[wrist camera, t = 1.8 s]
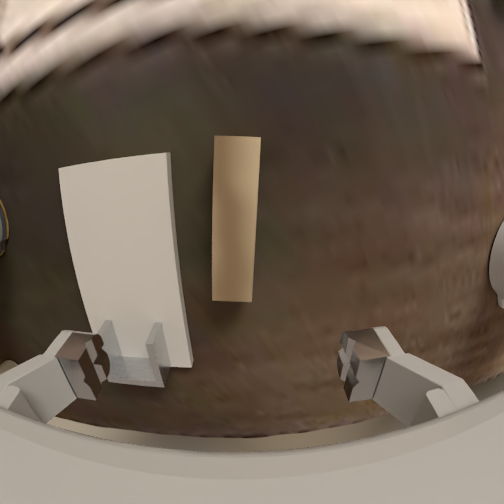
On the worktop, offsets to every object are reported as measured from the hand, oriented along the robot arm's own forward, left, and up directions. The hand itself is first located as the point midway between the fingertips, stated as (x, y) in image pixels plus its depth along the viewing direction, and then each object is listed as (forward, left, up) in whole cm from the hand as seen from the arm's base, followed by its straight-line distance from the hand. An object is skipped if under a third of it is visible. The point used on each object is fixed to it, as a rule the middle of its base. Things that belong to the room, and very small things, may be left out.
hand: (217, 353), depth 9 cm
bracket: (+12, +6, -20) cm, 24 cm away
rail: (0, 0, -21) cm, 21 cm away
